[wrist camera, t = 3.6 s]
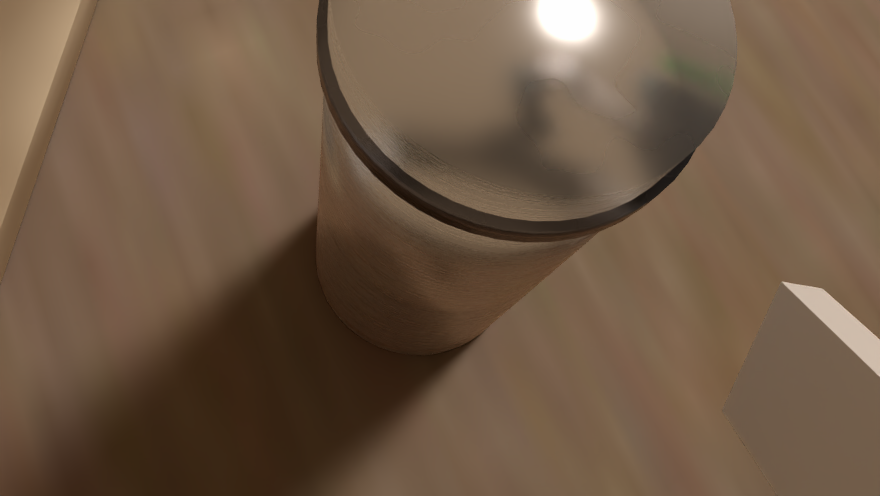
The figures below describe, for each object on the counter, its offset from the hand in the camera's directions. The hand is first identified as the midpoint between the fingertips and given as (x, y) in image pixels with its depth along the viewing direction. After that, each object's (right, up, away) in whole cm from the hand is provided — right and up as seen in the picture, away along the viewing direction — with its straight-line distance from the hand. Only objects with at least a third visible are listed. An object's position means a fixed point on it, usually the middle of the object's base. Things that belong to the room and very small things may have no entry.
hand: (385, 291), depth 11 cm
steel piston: (0, 0, +10) cm, 10 cm away
